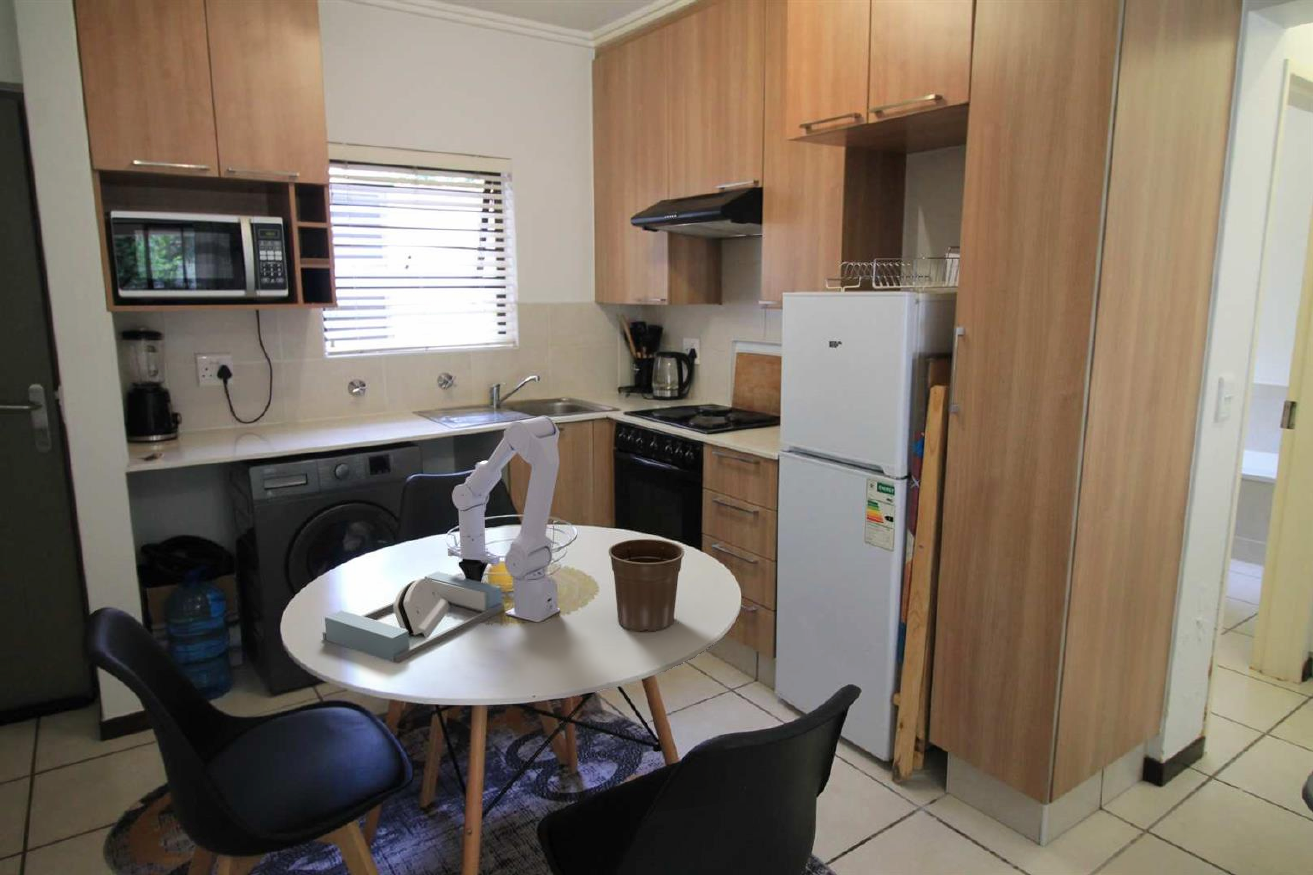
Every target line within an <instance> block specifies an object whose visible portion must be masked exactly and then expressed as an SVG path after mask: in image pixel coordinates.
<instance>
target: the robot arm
mask: <svg viewBox="0 0 1313 875" xmlns="http://www.w3.org/2000/svg"><path fill="white" fill-rule="evenodd" d="M559 437H560V430H559V427H558V426H557V425H556V424H555V422H554V420H553V419H552V418H551V417H549V416H548V415H539V416H538V417H534V418H533V417H532V418H529V419H523V420H514V421H512V422H511V423H510V424H509V425H508V427H507V428H506V429H505V430H504V431H503V438H502V439H501V441H500V442H499V444H498V445H497V446H496V448H495V449H494V451H493V453H492V454H491V456H490V457H489V458H488V460H482V461H480V462H476V464H475V465H474V467H475V469H473V471H472V472H471V474H470V476H467V477H466V478H465V482H464V483H462V484H458V485H456V486H454V489H453V491H452V493H451V498H452V502H453V504H454V506H455V507H456V509H458V525H459V528H458V529H459V546H456V545H452V546H450V547H447V556H449V557H453V556H454V557H458V558H461V559H462V560H461V561H459V562H458V567H459V568H460V570H461V571H462V573H463V575H464V576H465V577H464V578H466V579H470V580H474V581H479V582H482V580H483V576H484V573H485V571H486V569H487V567H488V565H490V566H492V567H496V566H497V565H500V564H501V562H500V561H501V559H500V558H501V557H500V555H498V554H495V553H493V552H491V551H490V550H488V547H487V546H486V529H485V528H486V527H485V526H486V525H485V512H486V510H487V504H488V502H489V500H490V492H491V491H492V490H493V488H494V487H495V486H496V485H497V484H498V482H499V481H500V480H501V478H502V476H503V475H502V469H503V468H504V467H505V466H506V465H507V464H508V463H509V461H510V460H511V459H513V458H514V456H515V455H517V454H518V455H519V456H520V457H521V458H522V459H523V460H524V461H525V462H526V463H527V464H529V465H530V466H531V472H530V478H529V482H528V488H527V493H526V497H525V498H526V499H525V503H524V504H525V505H524V510H523V514H522V515H523V516H522V519H521V520H522V522H521V526H520V530H519V533H518V535H517V536H516V537H515V538H514V539H513V541H512V542H511V543H510V546H509V547H510V548H509V550H508V551H507V553H506V554H505V556H504V567H505V569H506V572H508V573H507V574H509V575H510V578H512V588H513V590H512V593H513V607H512V608H510V609H509V610H507V611H505V615H507V616H511V617H515V618H519V619H523V620H526V621H532V622H535V623H540V622H542V621H544V620H546V619H547V618H549V617H551V616H553V615H555V614H557V613H558V612H560V611H561V608H560V607H559V601H558V600H559V598H558V597H559V596H558V594H559V592H558V583H557V581H556V580H555V579H554V578H551V577H550V576H548V575H547V573H546V572H548V566H549V565H550V564H551V563H552V561H553V552H552V551H553V550H552V542H553V540H552V539H551V538H550V537H549V536H548V535H547V529H548V523H549V518H550V515H551V508H552V504H553V500H554V499H553V498H554V493H555V487H556V482H557V479H558V478H557V477H558V474H559V473H558V472H559V468H560V454H559V447H558V443H559Z"/></svg>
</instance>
